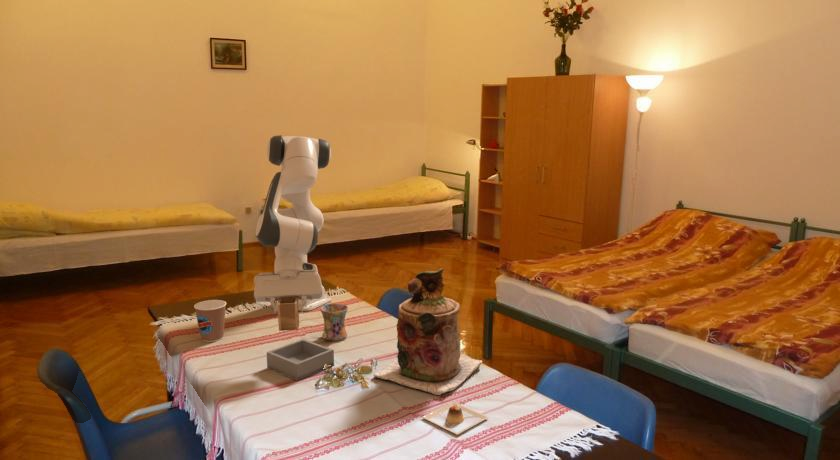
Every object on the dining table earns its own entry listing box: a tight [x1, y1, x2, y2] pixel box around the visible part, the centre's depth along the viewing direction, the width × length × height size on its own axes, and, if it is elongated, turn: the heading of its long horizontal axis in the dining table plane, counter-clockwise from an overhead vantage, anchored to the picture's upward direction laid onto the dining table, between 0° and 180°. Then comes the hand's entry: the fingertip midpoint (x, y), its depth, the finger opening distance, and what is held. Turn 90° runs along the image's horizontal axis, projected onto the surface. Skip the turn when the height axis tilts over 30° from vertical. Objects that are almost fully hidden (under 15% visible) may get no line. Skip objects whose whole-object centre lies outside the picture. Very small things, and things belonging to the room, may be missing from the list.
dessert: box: [421, 401, 490, 436], centre depth 151 cm, size 12×12×5 cm
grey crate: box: [266, 338, 335, 382], centre depth 182 cm, size 14×14×5 cm
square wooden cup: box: [276, 298, 300, 332], centre depth 179 cm, size 6×6×8 cm
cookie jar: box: [373, 267, 483, 396], centre depth 176 cm, size 25×25×32 cm
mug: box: [319, 303, 349, 342], centre depth 206 cm, size 12×9×11 cm
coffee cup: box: [193, 299, 227, 343], centre depth 204 cm, size 10×10×12 cm
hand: (288, 311), depth 179 cm, fingers closed on square wooden cup, 5 cm apart
